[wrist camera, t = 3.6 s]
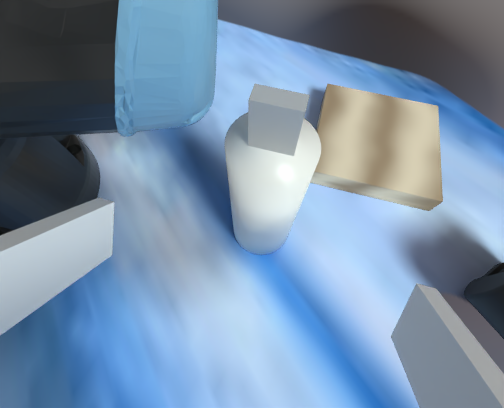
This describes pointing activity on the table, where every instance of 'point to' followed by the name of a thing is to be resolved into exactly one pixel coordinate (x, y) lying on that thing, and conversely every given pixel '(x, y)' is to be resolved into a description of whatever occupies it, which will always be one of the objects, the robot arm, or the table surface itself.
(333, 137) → the oak board
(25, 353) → the table surface
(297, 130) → the white bottle
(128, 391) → the table surface
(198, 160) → the table surface
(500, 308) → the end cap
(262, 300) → the table surface
